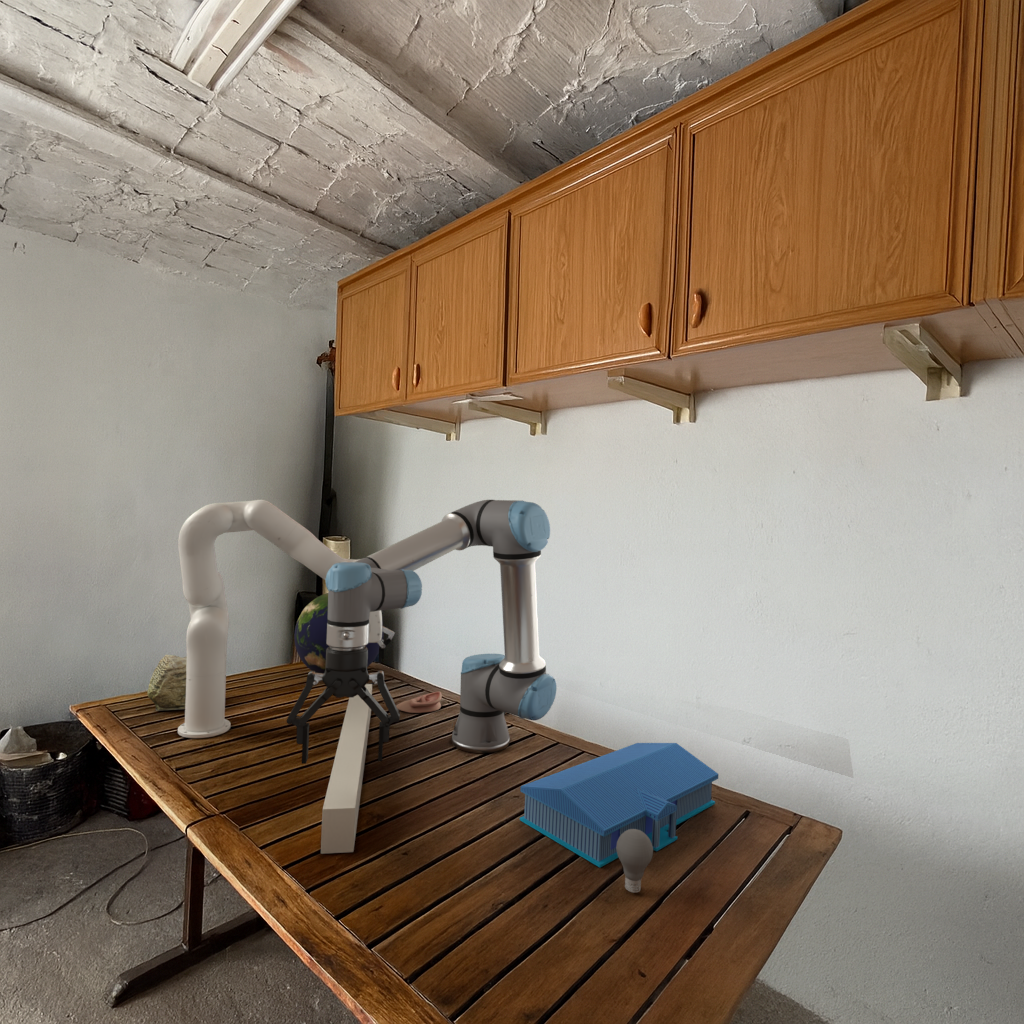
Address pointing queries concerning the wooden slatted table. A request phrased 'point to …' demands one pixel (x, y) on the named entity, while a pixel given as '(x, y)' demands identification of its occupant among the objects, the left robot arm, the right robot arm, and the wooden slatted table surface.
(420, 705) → the anatomical model
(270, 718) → the wooden slatted table surface
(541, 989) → the wooden slatted table surface
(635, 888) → the light bulb
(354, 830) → the post
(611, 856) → the model building
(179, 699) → the fossil
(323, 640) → the globe
